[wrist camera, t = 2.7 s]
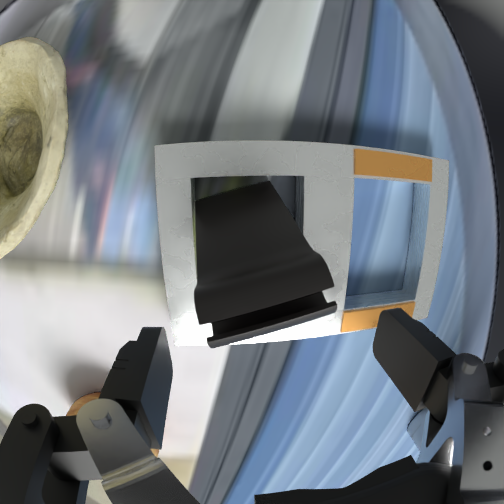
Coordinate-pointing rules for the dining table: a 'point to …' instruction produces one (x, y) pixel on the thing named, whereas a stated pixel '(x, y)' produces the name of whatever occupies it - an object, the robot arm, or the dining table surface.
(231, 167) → the white slotted tray
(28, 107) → the bowl
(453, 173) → the dining table surface
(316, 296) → the phone stand
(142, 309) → the dining table surface
